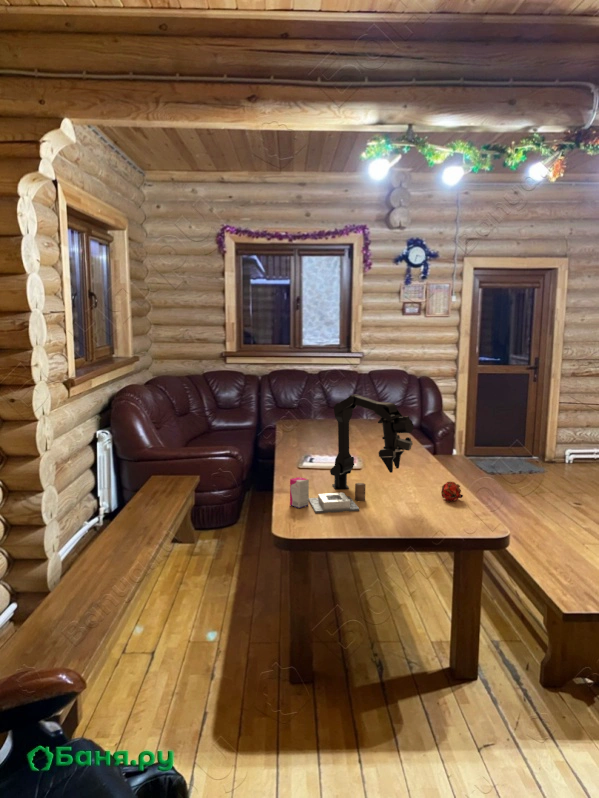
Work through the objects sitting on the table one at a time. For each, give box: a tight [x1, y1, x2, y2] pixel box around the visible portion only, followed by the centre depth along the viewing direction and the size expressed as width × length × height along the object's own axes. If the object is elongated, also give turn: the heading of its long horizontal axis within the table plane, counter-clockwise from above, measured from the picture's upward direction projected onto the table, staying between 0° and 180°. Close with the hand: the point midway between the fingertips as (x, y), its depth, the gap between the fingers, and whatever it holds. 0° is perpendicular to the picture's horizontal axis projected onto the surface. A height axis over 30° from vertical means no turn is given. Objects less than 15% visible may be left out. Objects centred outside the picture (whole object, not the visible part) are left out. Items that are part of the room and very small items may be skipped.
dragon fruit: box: [440, 481, 464, 503], centre depth 240 cm, size 8×8×12 cm
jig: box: [309, 492, 360, 514], centre depth 232 cm, size 16×18×4 cm
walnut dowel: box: [354, 482, 366, 502], centre depth 239 cm, size 4×4×7 cm
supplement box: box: [289, 476, 310, 509], centre depth 232 cm, size 6×6×12 cm
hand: (394, 470), depth 233 cm, fingers open, 9 cm apart
